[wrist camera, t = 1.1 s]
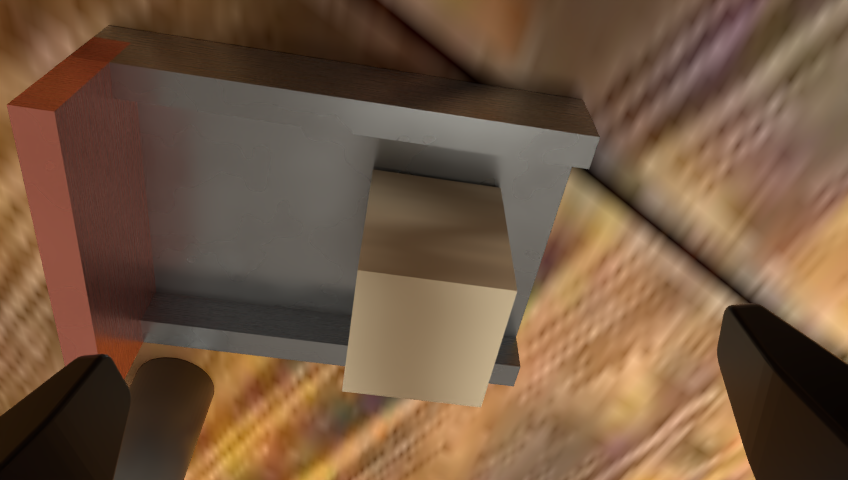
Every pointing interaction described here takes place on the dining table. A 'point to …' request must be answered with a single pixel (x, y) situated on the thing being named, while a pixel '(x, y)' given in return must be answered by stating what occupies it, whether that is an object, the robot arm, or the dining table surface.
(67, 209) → the grey open tray
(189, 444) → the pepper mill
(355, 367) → the block
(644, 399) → the dining table surface
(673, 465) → the dining table surface
